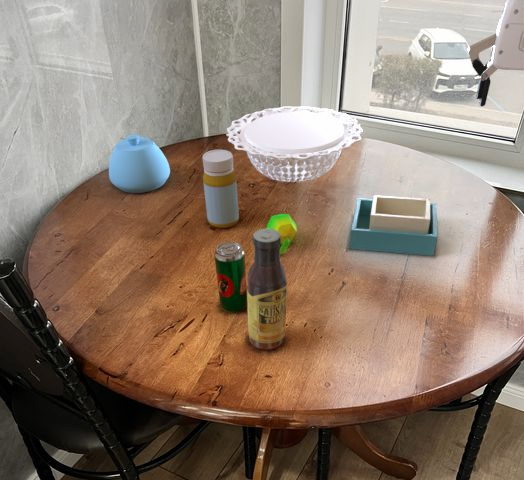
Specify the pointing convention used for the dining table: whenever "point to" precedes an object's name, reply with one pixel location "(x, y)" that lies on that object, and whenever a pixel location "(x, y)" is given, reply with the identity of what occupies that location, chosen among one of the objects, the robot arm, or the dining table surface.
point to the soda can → (231, 276)
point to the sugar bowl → (138, 165)
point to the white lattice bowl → (294, 140)
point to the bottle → (220, 188)
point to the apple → (283, 229)
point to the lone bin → (400, 214)
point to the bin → (390, 234)
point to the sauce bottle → (266, 292)
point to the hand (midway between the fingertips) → (512, 104)
